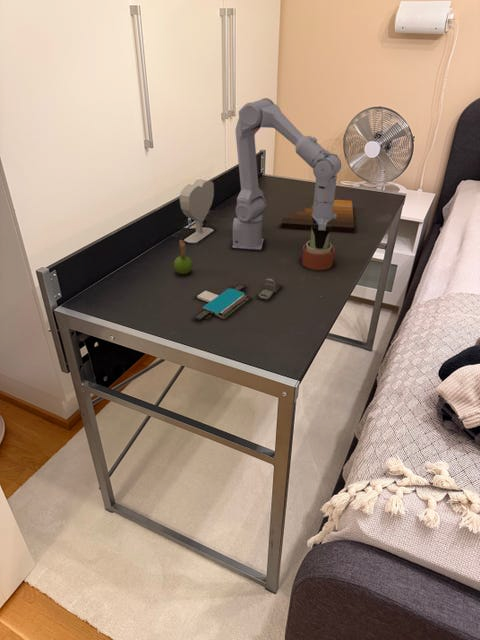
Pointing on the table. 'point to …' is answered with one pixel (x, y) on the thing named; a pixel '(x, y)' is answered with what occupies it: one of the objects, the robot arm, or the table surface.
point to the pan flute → (340, 223)
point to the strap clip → (268, 289)
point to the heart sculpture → (197, 206)
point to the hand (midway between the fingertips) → (319, 243)
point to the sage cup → (312, 240)
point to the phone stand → (222, 302)
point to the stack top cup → (318, 251)
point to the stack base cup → (317, 259)
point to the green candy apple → (182, 260)
